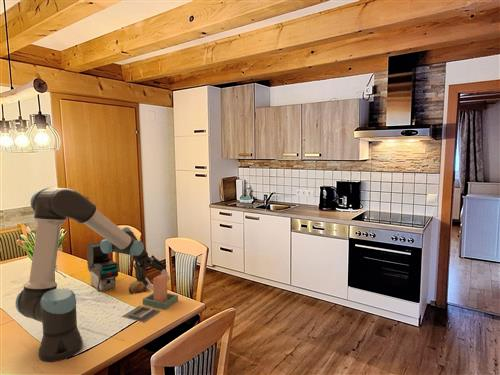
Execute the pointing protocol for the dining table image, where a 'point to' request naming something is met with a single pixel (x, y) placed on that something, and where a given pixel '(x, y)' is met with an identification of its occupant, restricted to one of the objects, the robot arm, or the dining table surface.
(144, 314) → the gray recessed plate
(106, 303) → the dining table surface
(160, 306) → the tray
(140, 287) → the bread roll
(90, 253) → the bill acceptor
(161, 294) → the salmon pink block
